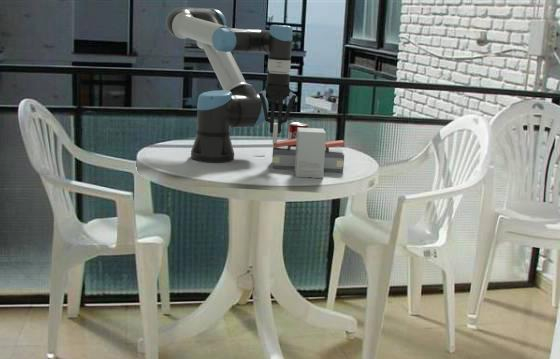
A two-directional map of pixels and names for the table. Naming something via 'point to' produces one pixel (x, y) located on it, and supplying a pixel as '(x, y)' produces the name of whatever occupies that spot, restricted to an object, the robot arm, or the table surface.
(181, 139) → the table surface
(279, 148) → the switch unit
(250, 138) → the table surface
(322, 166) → the supplement box
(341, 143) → the right rocker
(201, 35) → the robot arm
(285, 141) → the left rocker
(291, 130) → the soda can
